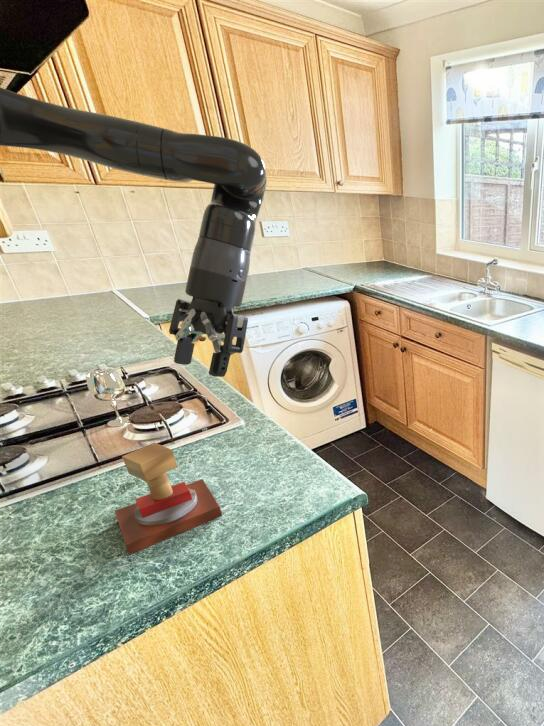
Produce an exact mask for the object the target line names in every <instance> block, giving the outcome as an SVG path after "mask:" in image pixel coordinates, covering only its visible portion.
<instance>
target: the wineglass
mask: <svg viewBox="0 0 544 726" xmlns="http://www.w3.org/2000/svg"><path fill="white" fill-rule="evenodd" d="M86 385H87V390H88V392H89V394H90V396H92V398H94V399H95V400H97V401H101V402H109V405H110V406H111V407H112V409H113V410H114V413H115V416H116V418H112V419H111V420H109V421H108V422H106V423H107V424H106V425H107V426H108V427H110V428H111V427H112V428H113V427H115V428H116V427H121V426H125V425H128V424H129V423H128V419H129V416H130V415H129V416H128V415H127V416H121V415H120V412H119V409H118V404H117V402H116V400H117V399H119V398H121V397H122V396H123V395H124V394H125V393H126V383H125V382H124V380H123V378H122V376H121V375H120V374H119V372H118V371H117V370H116V369H115V368H103V369H98V370H97V369H96V370H94V371H91V372H88V373H87V374H86Z"/></svg>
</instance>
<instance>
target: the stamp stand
mask: <svg viewBox="0 0 544 726" xmlns="http://www.w3.org/2000/svg"><path fill="white" fill-rule="evenodd" d="M186 485H187V487H188V488H189V489H191V490H195V492H196V495H197V499H198V500H197V504H196V505H195V507H194V508H193V509H192V510H191V511H190V512H189V513H187V514H186V515H184V516H183V517H181V518H179V519H177V520H174V521H172V522H169V523H166V524H162V525H155V526H146V525H142V524H140V523H138V522H137V520H136V518H135V516H134V512H135V509H136V508H137V506H138V505H137V502H134V503H131V504H128V505H127V506H123V507H120V508H117V509H116V510H114V514H115V516H116V520H117V523H118V526H119V530H120V532H121V536H122V538H123V542H124V545H125V548H126V550H127V552H128V555H133V554H135V553H137V552H140V551H142V550H145V549H147V548H150V547H152V546H154V545H156V544H158V543H161V542H163V541H166V540H168V539H170V538H172V537H175V536H178V535H180V534H183V533H185V532H187V531H189V530H192V529H194V528H197V527H199V526H201V525H203V524H207V523H209V522H211V521H213V520H216V519H219V518H221V517H222V516H223V513H222V510H221V507H220V504H219V503H218V502H217V500H216V498H215V497H214V495H213V494H212V492H211V490H210V488H209V487H208V485H207V483H206V482H205V480H204V479H203V478H201V479H199V480H196V481H193V482H190V483H188V484H186Z"/></svg>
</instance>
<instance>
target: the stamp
mask: <svg viewBox="0 0 544 726" xmlns="http://www.w3.org/2000/svg"><path fill="white" fill-rule="evenodd" d="M121 459H122V460H123V462H124V465H125V468H126V471H127V472H128V475H131V476H133V477H135V478H137V479H140V480H141V481H143V482H146V485H147V488H148V490H149V493H148V494H145V495H143V496H140V497H137V498H135V503H137V505H138V506H137V508H136V509H135V512H134V516H135V518H136V520H137V522H138V523H140V524H142V525H146V526H155V525H162V524H166V523H169V522H172V521H174V520H177V519H179V518H181V517H183V516H184V515H186V514H187V513H189V512H190V511H191V510H192V509H193V508H194V507H195V505H196V504H197V500H198V499H197V495H196V492H195V490H191V489H189V488H188V487H187V484H186V481H182V482H180V483H176V484H174V485H171V482H170V479H169V476H168V474H167V473H169V472H170V471H171V470H174V469H176V468H178V463H177V460H176V457H175V455H174V451H173V449H172V448H169V447H167V446H164V445H162V444H159V443H157V442H152V443H150V444H148V445H145V446H142V447H140V448H138V449H136V450H133V451H131V452H129V453H127V454H124V455H122V456H121Z"/></svg>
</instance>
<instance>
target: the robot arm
mask: <svg viewBox="0 0 544 726" xmlns="http://www.w3.org/2000/svg"><path fill="white" fill-rule="evenodd" d="M0 147H11V148H21V149H22V148H23V149H30V150H31V149H33V150H37V151H44V152H50V153H55V154H60V155H64V156H68V157H71V158H76V159H78V160H79V159H80V160H83V161H87V162H90V163H94V164H96V165H100V166H103V167H107V168H111V169H114V170H117V171H122V172H126V173H130V174H134V175H138V176H144V177H147V178H154V179H159V180H163V181H169V182H175V183H185V184H187V183H190V182H192V181H196V182H201V183H206V184H212V185H213V190H212V194H211V199H210V200H211V201H210V203H209V204H208V205H206V207H205V209H204V211H203V215H202V219H201V224H200V228H199V233H198V238H197V241H196V244H195V246H194V249H193V252H192V257H191V262H190V267H189V270H188V276H187V280H186V286H185V290H184V292H185V294H186V295H187V296H189V297H192V298H191V300H190V301H189V300H184V299H180V298H178V299H177V300H176V301H175V304H174V309H173V313H172V317H171V320H170V325H169V329H168V333H169V334H170V335H173V336H174V338H175V340H176V342H177V343H176V346H175V353H174V358H173V362H174V363H175V364H177V365H190V364H191V363H192V359H193V354H194V348H195V344H196V343H195V342H196V341H197V339H198V338H199V337H200V336H203V335H206V336H207V339H208V340H209V341H211V343H212V346H213V351H214V352H212V356H211V361H210V365H209V371H208V375H209V376H211V377H215V378H218V377H219V378H224V377H225V376H226V374H227V372H228V367H229V364H230V358H231V356H232V355H234V354H242V353H243V351H244V347H245V341H246V336H247V335H246V334H247V329H248V322H249V318H248V316H245V315H241V314H237V313H234V312H235V311H234V309H235V308H238V307H241V306H242V303H243V300H244V299H243V298H244V295H245V290H246V286H247V285H246V284H247V281H248V276H249V270H250V267H251V266H250V264H251V252H252V248H253V244H254V239H255V233H256V225H257V219H258V216H259V213H260V210H261V206H262V204H263V200H264V196H265V192H266V188H267V183H268V182H267V181H268V180H267V179H268V178H267V169H266V164H265V162H264V160H263V158H262V157H261V155H260V154H259V152H257V151H256V150H255V149H254V148H253V147H251V146H250V145H248V144H246V143H244V142H241V141H238V140H235V139H232V138H227V137H223V136H217V135H216V136H215V135H208V134H199V133H185V132H178V131H176V130H175V131H174V130H171V129H168V128H165V127H160V126H156V125H152V124H149V123H144V122H140V121H135V120H131V119H127V118H124V117H123V118H122V117H117V116H113V115H109V114H103V113H98V112H93V111H87V110H82V109H78V108H71V107H68V106H63V105H59V104H55V103H51V102H48V101H44V100H40V99H37V98H34V97H30V96H28V95H23V94H21V93H17V92H15V91H11V90H10V89H6V88H3V87H2V86H1V87H0ZM180 322H181V323H180ZM179 324H180V325H179ZM179 326H180V327H179ZM235 338H236V339H235ZM234 339H235V344H234V343H233V340H234ZM222 343H223V344H222Z"/></svg>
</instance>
